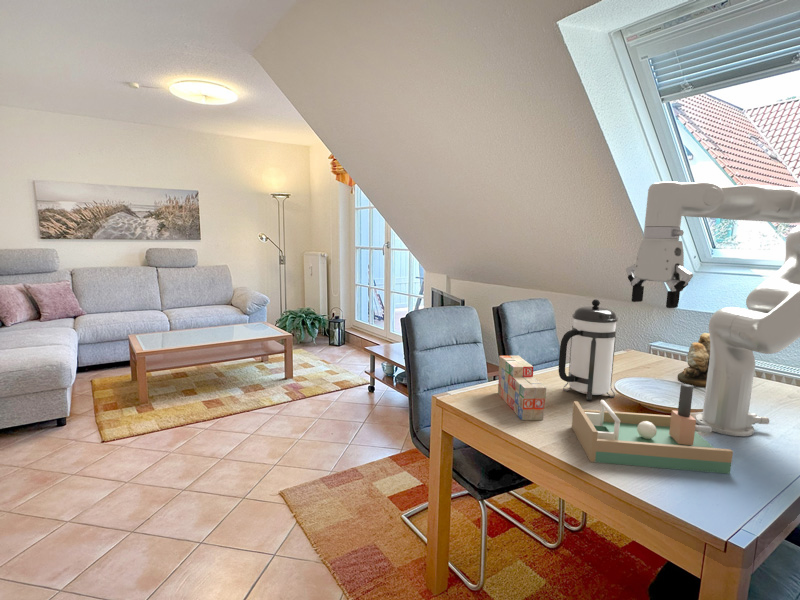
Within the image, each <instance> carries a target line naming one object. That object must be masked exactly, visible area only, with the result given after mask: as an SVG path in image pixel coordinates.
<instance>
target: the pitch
mask: <svg viewBox="0 0 800 600" xmlns="http://www.w3.org/2000/svg"><path fill="white" fill-rule="evenodd" d="M599 403H600V407H599V410H597V409H584V408H583V407H582V406H581V404H580V402H579V401H577V400H574V401H573V403H572V404H573V405H572V407H573V409H572V418H571V428H572V430H573V432H574V434H575V436H576V437H577V440H578V441H579V444H580V446H581V447H582V449H583V451H584V452H585V454H586V456H587V458H588V460H589V462H591V463H602V464H603V463H604V464H613V465H614V464H615V465H627V466H636V467H649V468H659V469H660V468H662V469H670V470H682V471H683V470H684V471H691V472H693V471H694V472H704V473H705V472H706V473H717V474H727V475H730V474H731V469H732V464H733V463H732V462H733V455H734V454H733V453H734V451H733V450H732V449H731V448H719V447H714V446H713V445H712V444H711V443H710V442H708V440H706V439H705V438H703V436H701V435H700V434H699V433H698V432H696V431H695V434H694V442H693V445H684V444H678V443H677V442H676V441H675V440H674V439H673V438H672V437H671V436H670V435H669V430H670V421H671V414H670V415H667V414H666V415H665V414H655V413H654V414H653V413H641V412H638V413H637V412H629V411H628V412H625V411H613V410H612V409H611V407H610V406H609V404H608V403H607V401H605V400H604V399H601V400H600V401H599ZM643 421H648V422H651V423H652V424H654V425H655V427H656V429H657V433H656V435H655V437H653V438H651V439H645V438H643V437H641V436H640V435H639V434H638V431H637V427H638V425H639V423H641V422H643Z"/></svg>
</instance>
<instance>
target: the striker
mask: <svg viewBox="0 0 800 600" xmlns="http://www.w3.org/2000/svg"><path fill="white" fill-rule="evenodd" d="M693 392H694V386H692V385H689V384H684V383H681V384H680V391H679V399H678V407H677V410H673V409H672V410H671V414H670V416H671V421H670V430H669V435H670V436H671V437H672V438H673V439H674V440H675V441H676V442H677V443H678V444H684V445H693V442H694V434H695V431H696V432H697V433H698V432H699V433H711V432H713V431H712V428H711V427H709V426H700V425H699V424H697V422H696V419H695V417H694V416H692V415H691V412H692V411H691V410H692V402H693V400H692V399H693V395H694V394H693Z"/></svg>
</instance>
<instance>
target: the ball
mask: <svg viewBox="0 0 800 600" xmlns="http://www.w3.org/2000/svg"><path fill="white" fill-rule="evenodd" d="M637 431H638V434H639V435H640V436H641V437H643V438H645V439H651V438H653V437H655V435H656V433H657V429H656V427H655V425H654V424H652V423H651V422H648V421H643V422H641V423H639V425H638V427H637Z"/></svg>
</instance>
